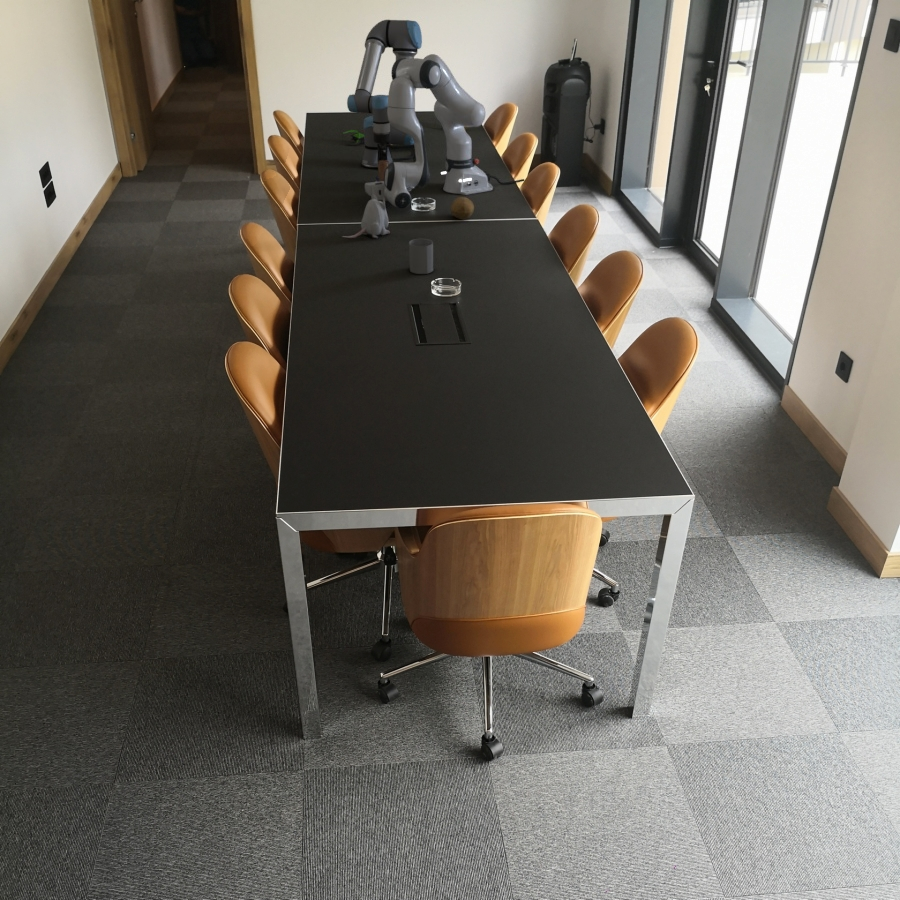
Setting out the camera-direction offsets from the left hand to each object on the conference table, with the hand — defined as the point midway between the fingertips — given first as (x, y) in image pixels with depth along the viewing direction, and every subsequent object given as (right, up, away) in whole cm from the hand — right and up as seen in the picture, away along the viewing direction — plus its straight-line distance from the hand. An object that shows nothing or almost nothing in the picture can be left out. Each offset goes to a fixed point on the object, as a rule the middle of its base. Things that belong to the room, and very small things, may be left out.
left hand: (383, 184), depth 399 cm
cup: (+21, -58, -91) cm, 110 cm away
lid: (0, +3, -2) cm, 3 cm away
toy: (-2, -40, -62) cm, 74 cm away
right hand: (+2, -4, -18) cm, 19 cm away
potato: (+36, -26, -41) cm, 61 cm away
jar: (+2, -10, -16) cm, 19 cm away
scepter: (-12, +43, +67) cm, 80 cm away
